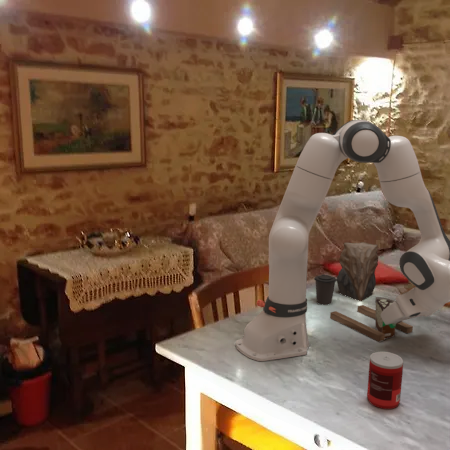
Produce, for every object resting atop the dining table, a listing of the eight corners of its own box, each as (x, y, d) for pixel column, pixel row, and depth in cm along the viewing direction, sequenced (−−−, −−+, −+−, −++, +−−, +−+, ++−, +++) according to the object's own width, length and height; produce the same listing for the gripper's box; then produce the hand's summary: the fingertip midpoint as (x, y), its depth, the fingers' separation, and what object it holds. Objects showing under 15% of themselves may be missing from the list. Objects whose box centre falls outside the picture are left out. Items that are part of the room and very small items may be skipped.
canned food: (393, 392, 130) (396, 351, 127) (405, 409, 122) (408, 366, 120) (362, 392, 129) (365, 351, 127) (372, 410, 121) (375, 366, 119)
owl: (334, 292, 203) (336, 242, 199) (355, 286, 211) (358, 238, 207) (360, 301, 194) (363, 249, 189) (381, 295, 201) (385, 244, 197)
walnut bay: (378, 341, 159) (379, 335, 158) (330, 317, 177) (330, 312, 177) (412, 332, 166) (412, 326, 166) (362, 310, 185) (362, 304, 184)
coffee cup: (322, 297, 198) (324, 271, 196) (339, 302, 192) (341, 276, 190) (308, 301, 193) (309, 275, 191) (325, 307, 187) (326, 281, 185)
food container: (403, 340, 159) (404, 309, 157) (382, 340, 160) (383, 309, 158) (393, 325, 171) (394, 296, 169) (374, 325, 172) (375, 296, 170)
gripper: (441, 285, 158) (413, 306, 169) (394, 296, 148) (367, 318, 159) (453, 303, 156) (423, 323, 166) (405, 316, 146) (377, 336, 156)
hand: (395, 321), depth 162 cm, fingers closed
